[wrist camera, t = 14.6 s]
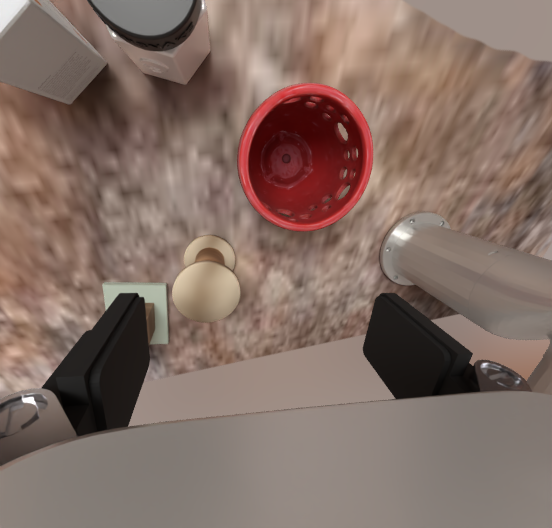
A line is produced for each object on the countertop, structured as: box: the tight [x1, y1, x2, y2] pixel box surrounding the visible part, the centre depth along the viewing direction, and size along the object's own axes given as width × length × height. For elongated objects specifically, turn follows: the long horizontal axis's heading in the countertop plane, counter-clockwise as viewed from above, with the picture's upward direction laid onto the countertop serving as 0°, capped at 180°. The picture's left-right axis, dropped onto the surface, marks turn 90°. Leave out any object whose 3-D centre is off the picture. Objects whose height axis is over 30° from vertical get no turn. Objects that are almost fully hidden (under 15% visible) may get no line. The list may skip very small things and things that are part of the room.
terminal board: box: [103, 282, 169, 344], centre depth 39 cm, size 8×10×1 cm
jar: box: [87, 0, 210, 85], centre depth 23 cm, size 9×8×12 cm
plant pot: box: [237, 83, 373, 231], centre depth 30 cm, size 13×13×12 cm
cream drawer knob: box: [172, 235, 240, 323], centre depth 33 cm, size 7×7×11 cm
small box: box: [0, 0, 107, 105], centre depth 21 cm, size 8×6×13 cm
